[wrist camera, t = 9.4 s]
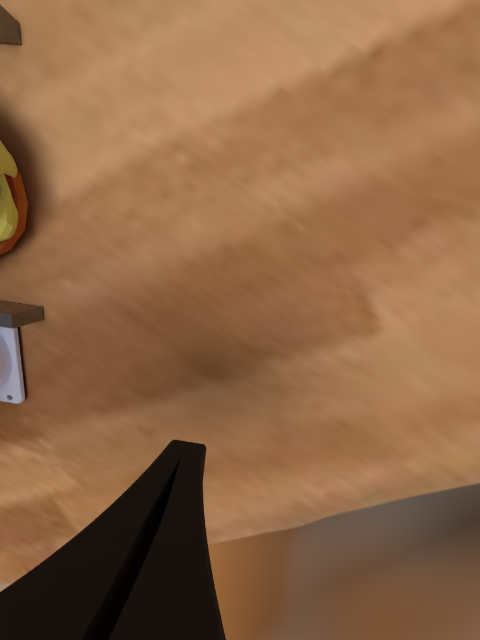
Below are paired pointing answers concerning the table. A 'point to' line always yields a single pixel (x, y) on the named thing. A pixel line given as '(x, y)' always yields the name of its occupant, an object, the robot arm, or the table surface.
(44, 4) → the table surface
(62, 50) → the table surface
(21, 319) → the grey low angled fixture
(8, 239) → the cheeseburger
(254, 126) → the table surface
